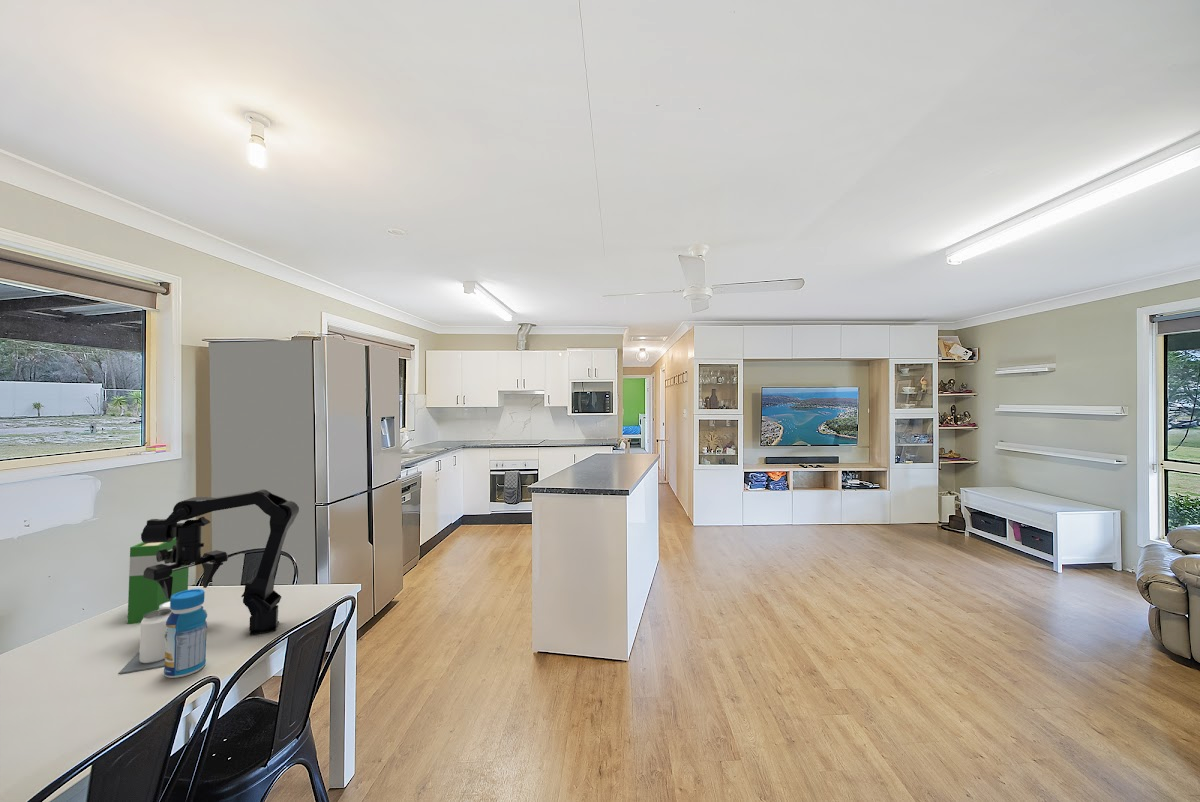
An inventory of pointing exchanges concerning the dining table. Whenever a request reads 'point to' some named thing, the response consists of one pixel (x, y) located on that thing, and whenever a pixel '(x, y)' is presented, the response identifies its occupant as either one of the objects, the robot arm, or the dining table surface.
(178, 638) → the beverage bottle
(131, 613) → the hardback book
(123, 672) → the slate mat
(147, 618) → the can
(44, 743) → the dining table surface
